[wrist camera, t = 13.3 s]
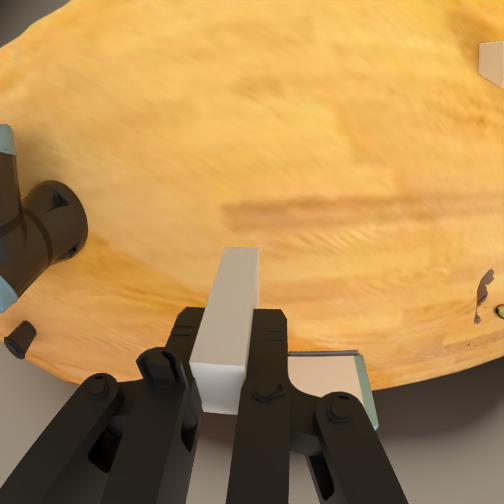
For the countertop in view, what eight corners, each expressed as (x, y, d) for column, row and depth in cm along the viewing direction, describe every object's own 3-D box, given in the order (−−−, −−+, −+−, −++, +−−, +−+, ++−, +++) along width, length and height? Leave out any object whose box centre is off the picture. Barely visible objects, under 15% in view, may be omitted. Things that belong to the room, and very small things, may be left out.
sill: (262, 362, 58) (262, 364, 57) (262, 346, 55) (262, 348, 55) (353, 361, 56) (354, 363, 56) (358, 345, 54) (359, 347, 54)
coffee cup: (42, 332, 62) (25, 357, 54) (36, 341, 65) (20, 364, 57) (22, 312, 60) (3, 335, 51) (17, 323, 63) (0, 345, 54)
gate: (270, 360, 56) (266, 435, 41) (270, 354, 56) (266, 431, 40) (360, 359, 55) (375, 430, 40) (362, 353, 54) (378, 425, 39)
